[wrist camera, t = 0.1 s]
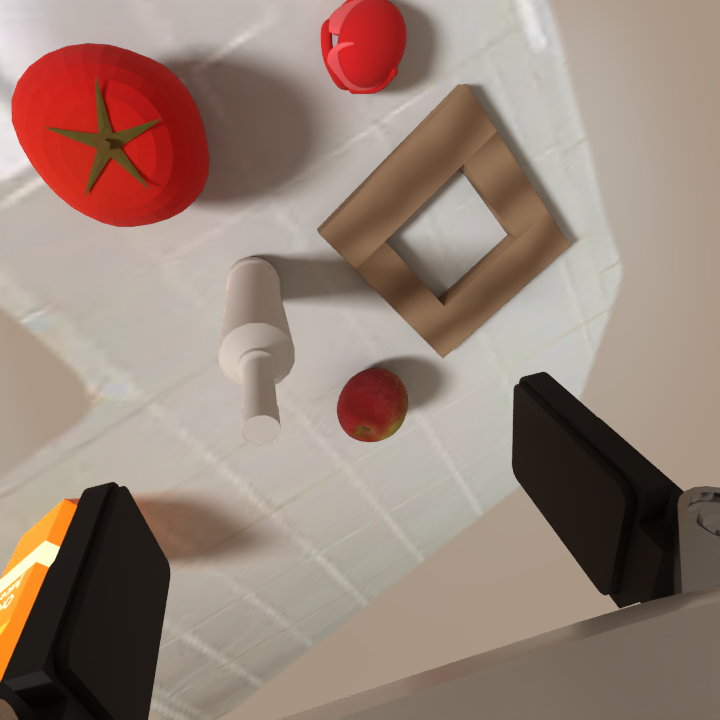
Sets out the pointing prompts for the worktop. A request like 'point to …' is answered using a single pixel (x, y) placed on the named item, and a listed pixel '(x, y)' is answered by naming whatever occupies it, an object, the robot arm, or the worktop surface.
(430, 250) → the worktop surface
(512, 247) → the walnut board
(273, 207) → the worktop surface
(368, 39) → the red rounded piece
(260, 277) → the bottle
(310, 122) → the worktop surface
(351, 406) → the apple
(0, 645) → the orange juice
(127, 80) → the tomato
